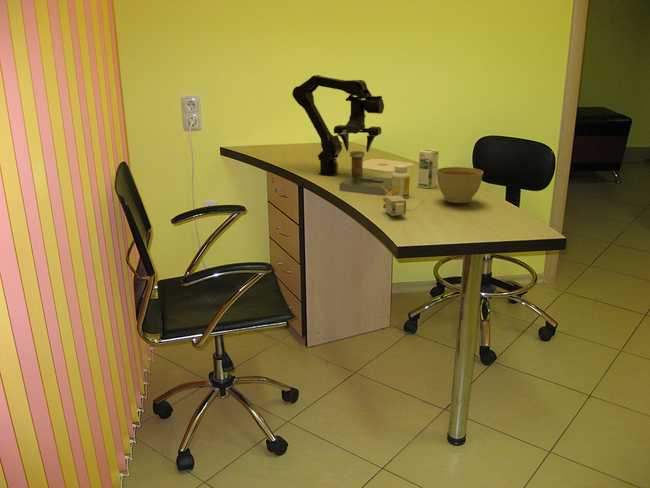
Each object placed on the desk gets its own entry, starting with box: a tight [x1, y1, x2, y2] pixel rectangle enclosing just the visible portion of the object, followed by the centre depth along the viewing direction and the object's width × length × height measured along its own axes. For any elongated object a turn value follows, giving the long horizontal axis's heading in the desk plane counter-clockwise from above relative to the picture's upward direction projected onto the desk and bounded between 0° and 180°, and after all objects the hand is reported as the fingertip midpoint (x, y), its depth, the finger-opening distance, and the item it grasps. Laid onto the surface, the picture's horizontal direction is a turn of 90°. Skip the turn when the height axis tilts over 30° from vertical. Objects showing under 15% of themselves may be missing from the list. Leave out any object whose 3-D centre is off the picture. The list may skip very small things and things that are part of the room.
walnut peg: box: [349, 150, 366, 177], centre depth 252 cm, size 6×6×12 cm
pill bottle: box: [391, 165, 411, 199], centre depth 225 cm, size 6×6×12 cm
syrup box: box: [417, 149, 440, 190], centre depth 240 cm, size 6×6×14 cm
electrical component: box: [382, 187, 407, 217], centre depth 213 cm, size 24×6×5 cm, turn 13°
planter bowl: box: [437, 166, 484, 204], centre depth 220 cm, size 16×16×11 cm
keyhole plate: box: [338, 175, 392, 196], centre depth 239 cm, size 18×16×3 cm
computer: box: [350, 158, 414, 175], centre depth 274 cm, size 22×22×3 cm
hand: (357, 151), depth 250 cm, fingers open, 8 cm apart
